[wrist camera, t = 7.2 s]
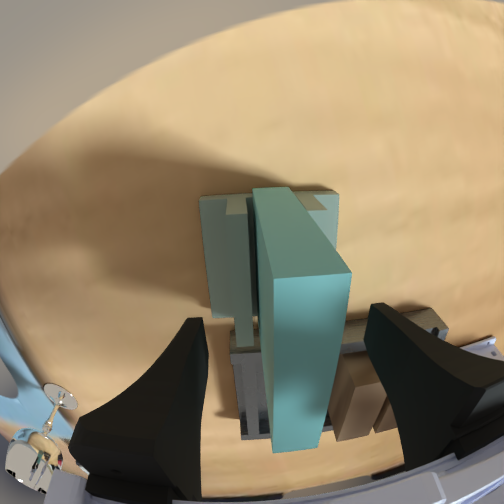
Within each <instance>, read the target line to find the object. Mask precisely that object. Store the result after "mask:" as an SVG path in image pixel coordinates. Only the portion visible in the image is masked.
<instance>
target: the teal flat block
mask: <svg viewBox="0 0 504 504" xmlns="http://www.w3.org/2000/svg"><path fill="white" fill-rule="evenodd" d="M252 196H253V218H254V241H255V264H256V288H257V312H258V327H259V336H260V345H261V354H262V363H263V372H264V381H265V390H266V399H267V408H268V416H269V425H270V434H271V443H272V452H273V453H281V452H290V451H298V450H305V449H312V448H317V447H318V443H319V440H320V436H321V432H322V429H323V425H324V421H325V417H326V413H327V409H328V405H329V400H330V396H331V392H332V387H333V383H334V378H335V373H336V368H337V363H338V358H339V353H340V348H341V342H342V337H343V331H344V325H345V319H346V313H347V306H348V299H349V292H350V284H351V277H352V272H351V271H350V269H349V268H348V266H347V265H346V264H345V262H344V261H343V259H342V258H341V257H340V255H339V254H338V252H337V251H336V250H335V248H334V247H333V245H332V244H331V243H330V241H329V240H328V238H327V237H326V236H325V234H324V233H323V232H322V230H321V229H320V228H319V226H318V225H317V224H316V222H315V221H314V220H313V218H312V217H311V216H310V214H309V213H308V212H307V210H306V209H305V208H304V206H303V205H302V204H301V203H300V201H299V200H298V199H297V197H296V196H295V195H294V193H293V192H292V191H291V190H290V188H289V187H270V188H252Z"/></svg>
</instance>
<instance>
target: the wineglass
mask: <svg viewBox="0 0 504 504" xmlns="http://www.w3.org/2000/svg"><path fill="white" fill-rule="evenodd" d="M44 391H45V393H46V395H47V396H48V397H49V398H50V399H51V400H52V401H53V402H54V407H53V410H52V412H51V414H50V416H49V418H48V419H47V420H46V421H45V422H44V424H43V427H42V429H43V432H41V431H39V430H36V429H31V428H23V429H20V430H18V431H17V432H16V433H15V434H14V436H13V437H12V439H11V441H10V444H9V448H8V451H7V457H6V468H5V469H6V471H7V472H8V473H9V474H10V475H11V476H13V477H14V478H16V479H17V480H18V481H20V482H21V483H23V484H25V485H26V486H28V487H30V488H32V489H34V490H36V491H38V492H41V493H43V494H47V490H48V487H49V484H50V480H51V477H52V474H53V471H54V469H59V470H62V464H63V457H62V453H61V450H60V448H59V447H58V446H57V444H56V443H55V442H54V441H53V440H52V439H51V438H50V437H49V436H48V435H47V434H48V433H49V432H50V431H51V430H52V423H53V418H54V416H55V413H56V411H57V409H58V408H59V407H60V406H61V407H63V408H66V409H70V410H74V409H76V408H77V407H78V403H77V400H76V399H75V398H74V396H73V395H72V394H71V393H69V392H68V391H67V390H65V389H64V388H62V387H60V386H58V385H55V384H51V383H48V384H45V386H44Z"/></svg>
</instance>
